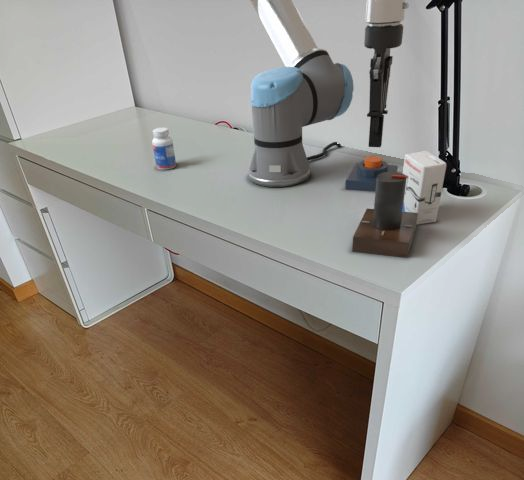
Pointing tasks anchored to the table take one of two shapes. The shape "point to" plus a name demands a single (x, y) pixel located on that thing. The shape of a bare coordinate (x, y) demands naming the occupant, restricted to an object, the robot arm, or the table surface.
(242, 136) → the table surface
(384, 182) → the dial knob
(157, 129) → the pill bottle
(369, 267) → the table surface
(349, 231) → the table surface
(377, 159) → the button
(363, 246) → the block
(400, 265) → the table surface
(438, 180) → the ink box
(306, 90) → the robot arm
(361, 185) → the button box
